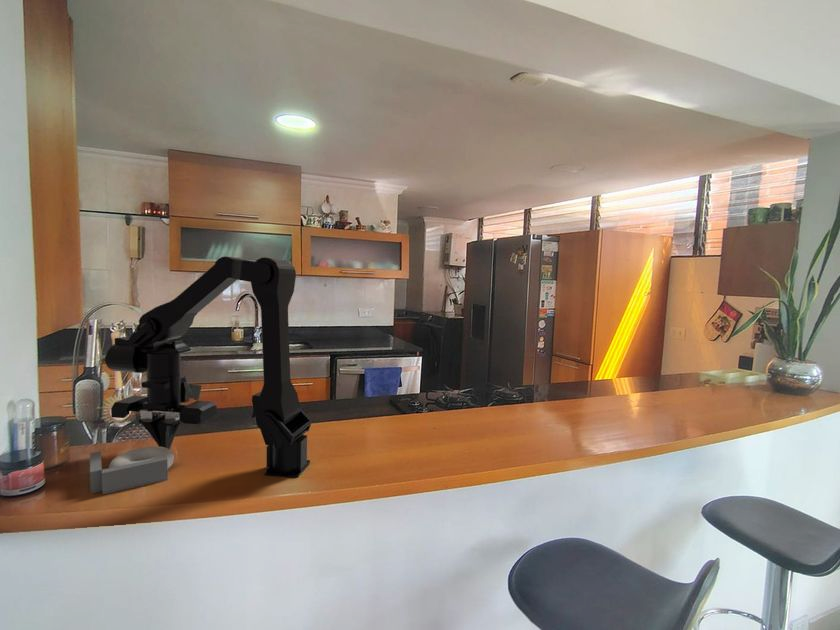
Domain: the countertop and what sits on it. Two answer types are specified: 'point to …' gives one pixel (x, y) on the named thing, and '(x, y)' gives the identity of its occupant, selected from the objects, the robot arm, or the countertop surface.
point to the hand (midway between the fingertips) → (166, 450)
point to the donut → (143, 456)
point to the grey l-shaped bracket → (125, 474)
